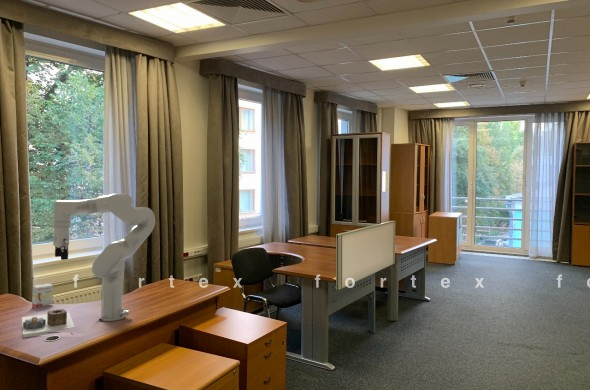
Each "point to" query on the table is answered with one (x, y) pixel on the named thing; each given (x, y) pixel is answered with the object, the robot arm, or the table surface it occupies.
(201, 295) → the table surface
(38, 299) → the ink box
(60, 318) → the walnut gear
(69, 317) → the gear board
